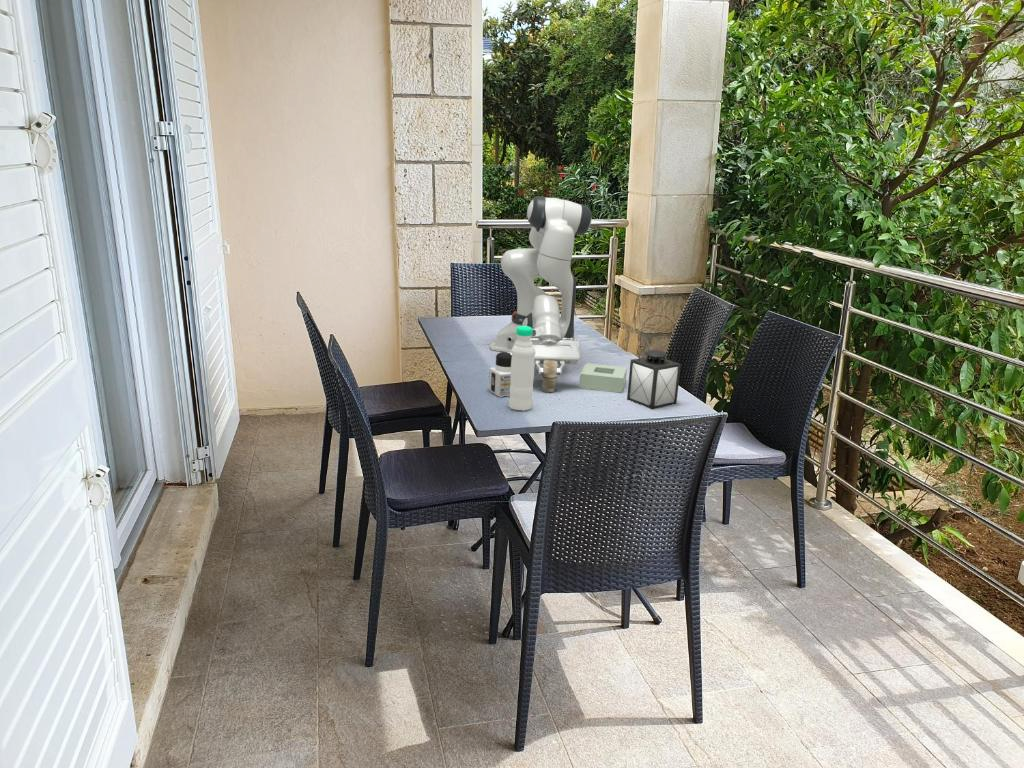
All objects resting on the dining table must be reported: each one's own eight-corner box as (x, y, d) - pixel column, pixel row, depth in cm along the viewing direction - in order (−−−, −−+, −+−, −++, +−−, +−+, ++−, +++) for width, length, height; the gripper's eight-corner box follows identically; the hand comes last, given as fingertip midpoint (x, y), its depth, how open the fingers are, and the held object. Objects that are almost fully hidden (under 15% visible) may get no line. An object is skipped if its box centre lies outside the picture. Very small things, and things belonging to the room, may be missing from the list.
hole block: (579, 388, 264) (580, 373, 263) (585, 377, 278) (586, 363, 276) (621, 392, 262) (623, 378, 260) (625, 381, 275) (627, 367, 273)
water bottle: (507, 404, 245) (511, 324, 238) (530, 404, 246) (535, 324, 239) (509, 411, 238) (513, 329, 231) (533, 411, 239) (538, 330, 232)
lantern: (626, 399, 255) (634, 313, 247) (651, 394, 262) (659, 310, 253) (652, 409, 247) (661, 320, 238) (676, 404, 253) (686, 317, 245)
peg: (540, 392, 258) (542, 362, 255) (543, 388, 262) (545, 359, 259) (554, 393, 257) (556, 363, 254) (556, 390, 261) (558, 360, 259)
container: (499, 397, 251) (501, 357, 247) (488, 390, 257) (490, 351, 254) (521, 395, 254) (523, 355, 251) (509, 388, 261) (511, 349, 257)
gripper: (577, 343, 268) (580, 379, 261) (516, 341, 266) (517, 378, 259) (580, 333, 262) (583, 370, 256) (518, 331, 260) (520, 368, 254)
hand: (550, 374), depth 257 cm, fingers closed on peg, 4 cm apart
